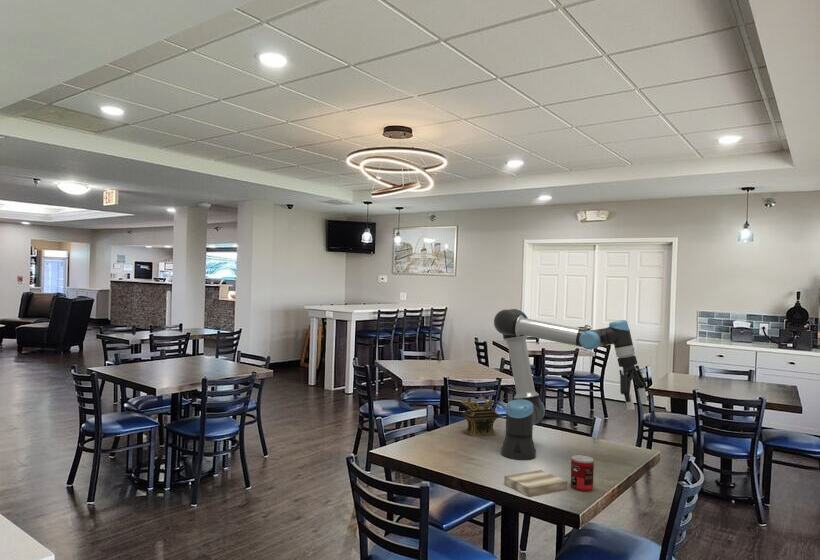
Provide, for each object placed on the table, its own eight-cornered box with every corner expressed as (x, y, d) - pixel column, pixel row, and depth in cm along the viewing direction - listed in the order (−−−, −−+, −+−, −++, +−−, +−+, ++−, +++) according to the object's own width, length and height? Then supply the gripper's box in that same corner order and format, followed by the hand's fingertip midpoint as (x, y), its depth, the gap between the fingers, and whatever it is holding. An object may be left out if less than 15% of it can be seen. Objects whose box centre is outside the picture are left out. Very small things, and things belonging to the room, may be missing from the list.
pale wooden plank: (504, 484, 208) (504, 476, 208) (540, 477, 217) (540, 469, 217) (529, 496, 195) (530, 488, 196) (567, 489, 204) (567, 481, 204)
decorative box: (489, 430, 289) (491, 392, 289) (499, 435, 280) (500, 395, 280) (455, 432, 281) (456, 393, 282) (463, 437, 272) (465, 397, 273)
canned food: (570, 483, 211) (571, 454, 212) (592, 486, 209) (593, 456, 209) (570, 489, 204) (571, 459, 204) (593, 493, 202) (594, 462, 202)
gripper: (621, 359, 226) (634, 411, 223) (646, 351, 244) (658, 400, 241) (604, 361, 231) (616, 412, 228) (630, 354, 249) (641, 401, 246)
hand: (638, 406), depth 234 cm, fingers open, 13 cm apart
